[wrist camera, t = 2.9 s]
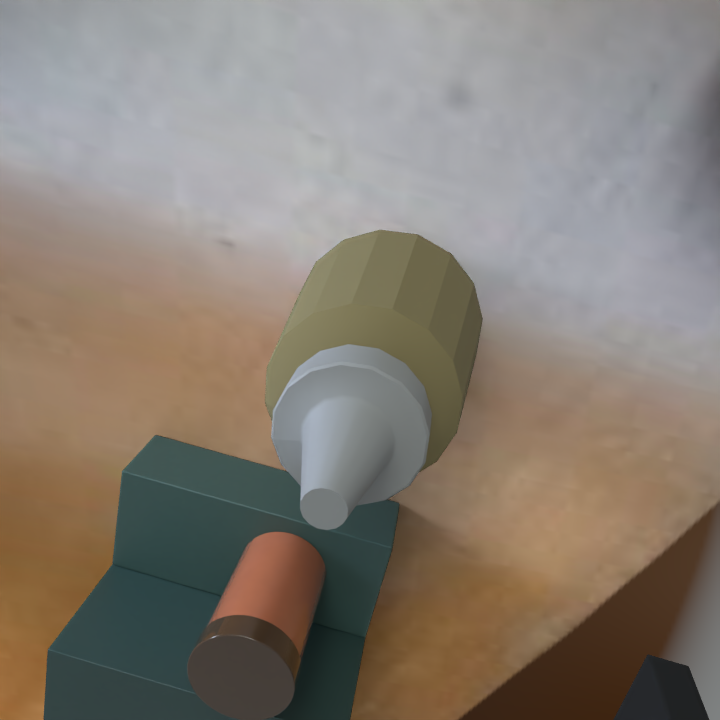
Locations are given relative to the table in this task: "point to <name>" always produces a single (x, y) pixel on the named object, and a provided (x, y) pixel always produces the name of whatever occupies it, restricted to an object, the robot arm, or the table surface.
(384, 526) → the dark green stepped block
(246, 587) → the spice jar
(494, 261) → the table surface
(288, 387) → the squeeze bottle
